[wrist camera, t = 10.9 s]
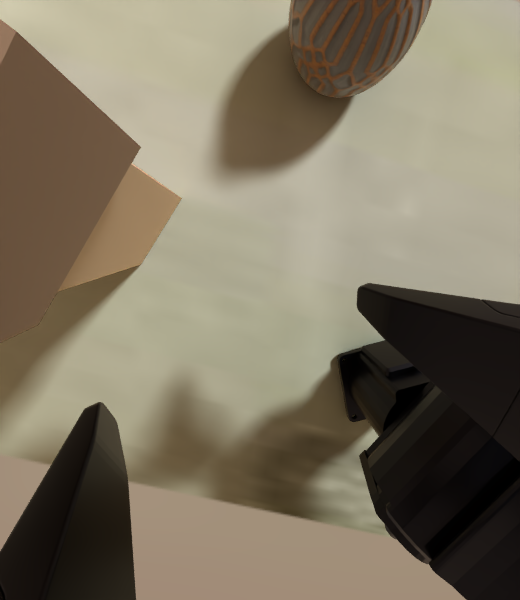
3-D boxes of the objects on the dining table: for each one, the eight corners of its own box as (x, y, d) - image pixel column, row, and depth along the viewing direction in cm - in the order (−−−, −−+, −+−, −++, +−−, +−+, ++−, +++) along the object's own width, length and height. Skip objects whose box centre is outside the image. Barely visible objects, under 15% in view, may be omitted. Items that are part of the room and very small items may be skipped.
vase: (273, 104, 19) (305, -4, 10) (288, -22, 17) (341, -271, 9) (370, 122, 19) (475, 36, 11) (392, 3, 18) (535, -202, 9)
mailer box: (181, 198, 19) (127, 161, 10) (140, 264, 20) (52, 293, 10) (107, 146, 18) (-41, 43, 8) (67, 218, 19) (-112, 201, 9)
